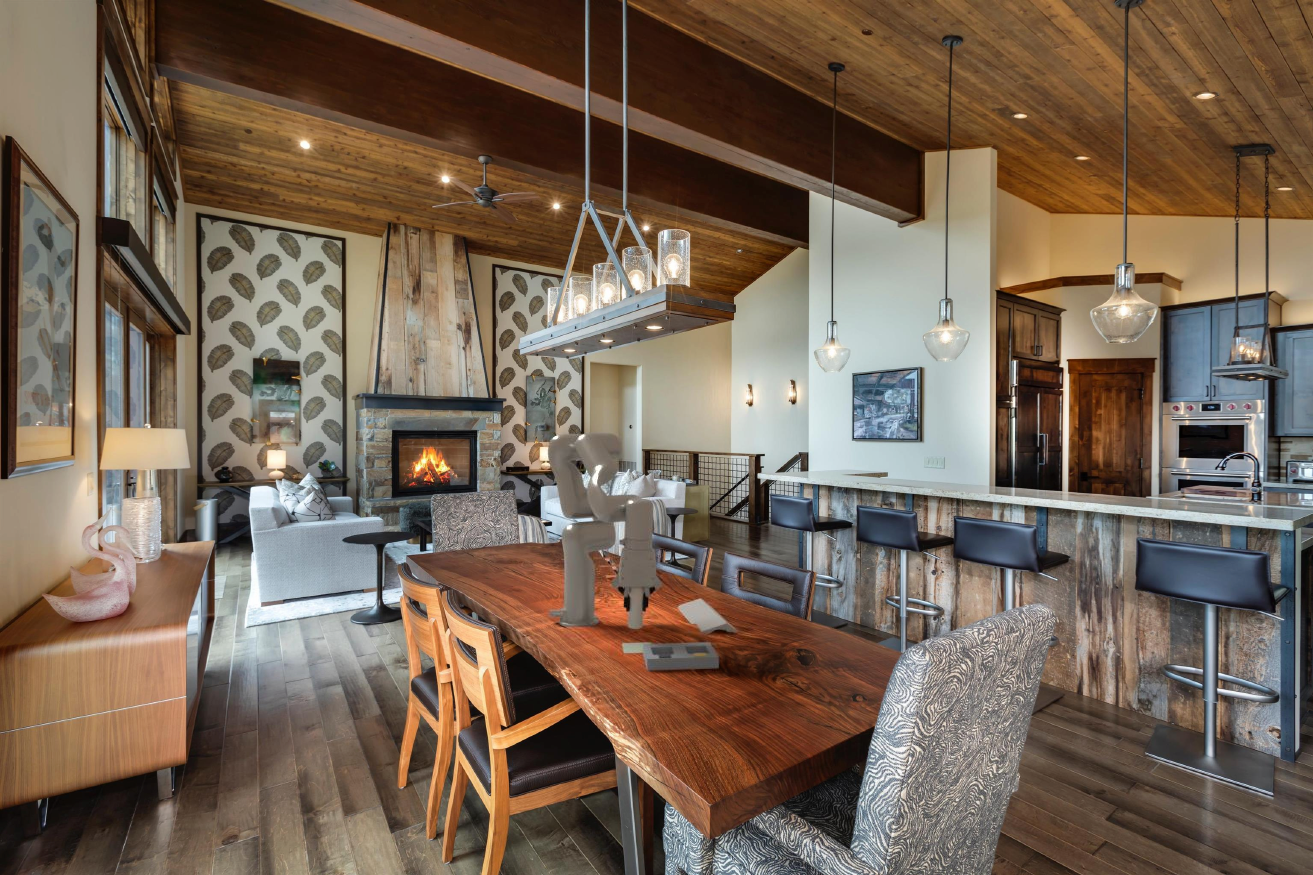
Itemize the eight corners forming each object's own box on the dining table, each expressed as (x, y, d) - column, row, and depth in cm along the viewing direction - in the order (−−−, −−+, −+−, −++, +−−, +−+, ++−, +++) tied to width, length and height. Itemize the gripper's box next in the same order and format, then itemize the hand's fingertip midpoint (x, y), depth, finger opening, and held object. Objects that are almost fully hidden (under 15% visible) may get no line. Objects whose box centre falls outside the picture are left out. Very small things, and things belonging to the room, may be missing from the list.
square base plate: (623, 657, 166) (623, 653, 166) (621, 647, 174) (621, 643, 174) (653, 656, 167) (653, 652, 167) (650, 646, 175) (650, 642, 175)
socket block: (647, 674, 154) (647, 657, 154) (642, 659, 165) (643, 642, 165) (718, 672, 156) (718, 655, 156) (709, 657, 167) (709, 641, 167)
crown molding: (677, 609, 215) (677, 599, 215) (711, 608, 217) (711, 597, 217) (700, 636, 186) (701, 624, 186) (739, 634, 189) (739, 622, 189)
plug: (628, 628, 169) (629, 581, 169) (627, 623, 173) (628, 577, 173) (643, 628, 170) (645, 581, 169) (642, 623, 174) (643, 577, 173)
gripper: (608, 546, 166) (605, 614, 167) (670, 547, 168) (667, 614, 169) (607, 540, 173) (604, 605, 174) (666, 541, 175) (664, 606, 176)
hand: (635, 609), depth 171 cm, fingers closed on plug, 4 cm apart
